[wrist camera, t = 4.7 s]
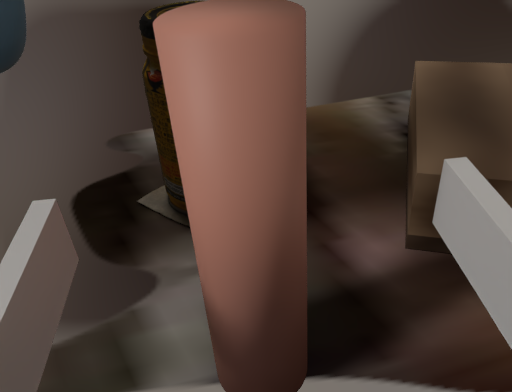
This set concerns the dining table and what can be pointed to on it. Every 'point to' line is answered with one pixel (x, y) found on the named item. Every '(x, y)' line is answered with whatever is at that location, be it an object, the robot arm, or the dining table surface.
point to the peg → (244, 178)
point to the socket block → (455, 136)
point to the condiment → (162, 125)
